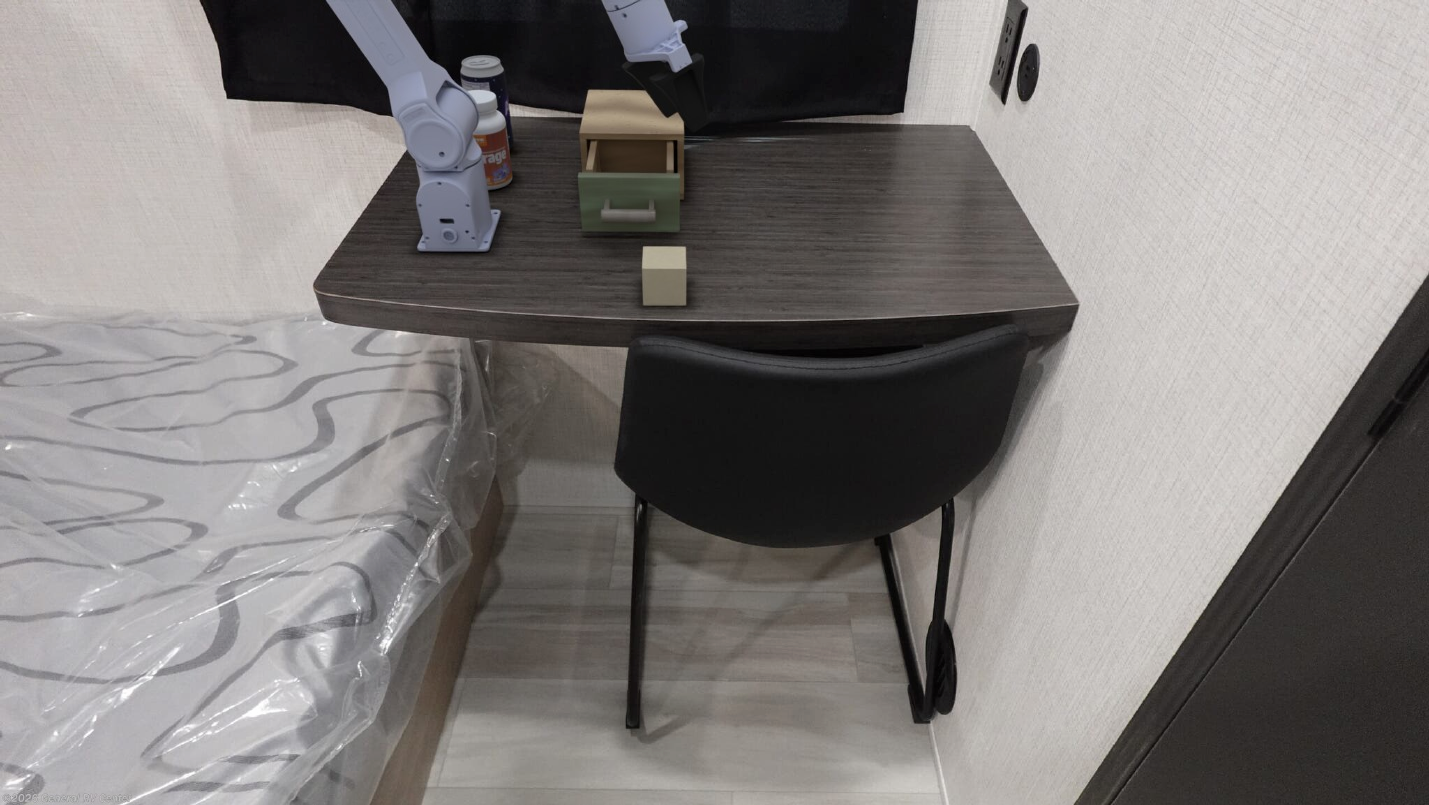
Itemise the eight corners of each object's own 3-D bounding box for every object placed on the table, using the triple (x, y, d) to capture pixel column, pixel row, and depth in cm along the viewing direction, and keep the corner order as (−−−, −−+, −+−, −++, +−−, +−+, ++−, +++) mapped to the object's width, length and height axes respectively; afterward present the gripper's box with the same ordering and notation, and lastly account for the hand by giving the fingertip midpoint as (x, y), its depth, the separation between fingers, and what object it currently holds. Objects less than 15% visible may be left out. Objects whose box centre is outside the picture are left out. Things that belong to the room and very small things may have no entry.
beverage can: (518, 155, 115) (506, 66, 108) (476, 160, 114) (462, 70, 106) (510, 139, 119) (498, 52, 112) (469, 144, 118) (455, 56, 110)
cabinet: (683, 199, 106) (684, 133, 101) (584, 198, 106) (579, 132, 100) (682, 152, 118) (682, 90, 112) (592, 151, 117) (588, 89, 112)
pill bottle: (469, 195, 106) (454, 108, 99) (460, 175, 110) (445, 90, 103) (518, 187, 108) (507, 101, 101) (507, 168, 112) (496, 84, 105)
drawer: (680, 250, 95) (680, 194, 90) (578, 249, 94) (574, 193, 90) (678, 181, 108) (678, 130, 104) (590, 180, 108) (586, 129, 103)
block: (686, 305, 88) (686, 268, 85) (643, 305, 88) (641, 268, 85) (685, 282, 91) (685, 246, 88) (644, 282, 91) (643, 246, 88)
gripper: (692, -18, 78) (745, 114, 86) (641, -28, 90) (691, 89, 98) (629, 20, 77) (688, 149, 86) (585, 5, 89) (641, 120, 97)
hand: (686, 119), depth 92 cm, fingers open, 7 cm apart
